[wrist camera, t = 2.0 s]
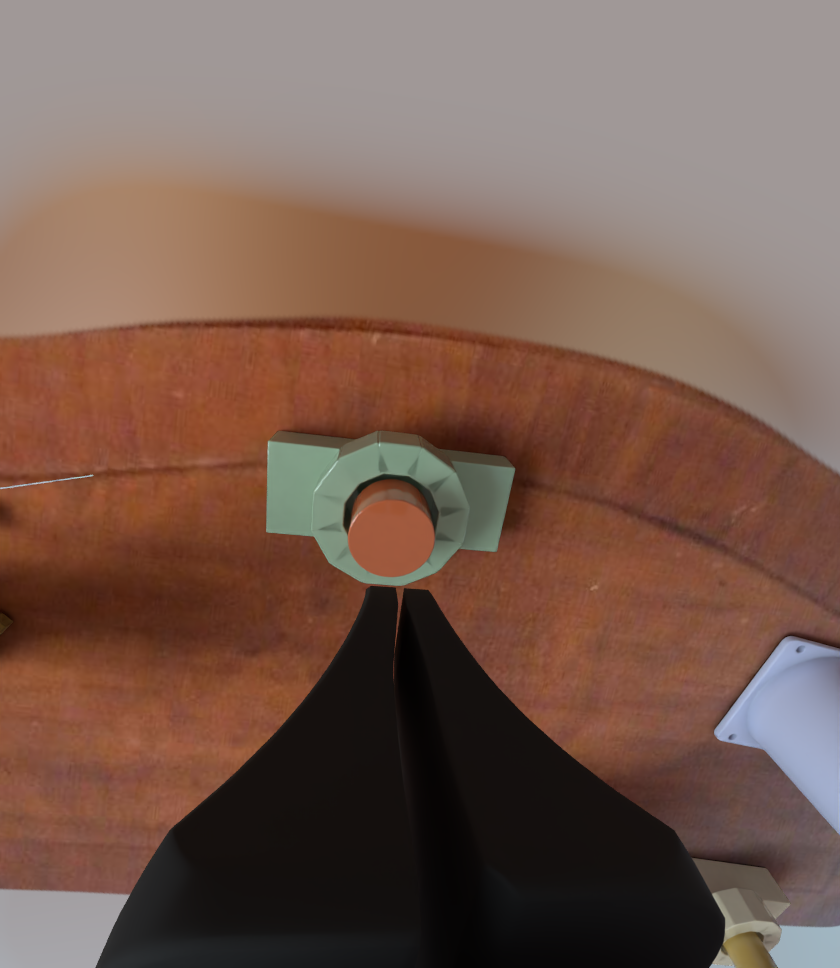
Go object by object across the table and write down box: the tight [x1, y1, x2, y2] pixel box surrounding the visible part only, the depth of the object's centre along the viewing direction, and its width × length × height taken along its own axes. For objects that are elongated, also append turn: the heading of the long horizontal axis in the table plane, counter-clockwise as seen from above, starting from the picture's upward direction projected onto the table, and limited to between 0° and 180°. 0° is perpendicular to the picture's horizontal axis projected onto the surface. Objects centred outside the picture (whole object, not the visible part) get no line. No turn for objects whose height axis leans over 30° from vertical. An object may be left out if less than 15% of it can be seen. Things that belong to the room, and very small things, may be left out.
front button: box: [348, 479, 435, 577], centre depth 16 cm, size 3×3×2 cm
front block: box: [266, 430, 515, 586], centre depth 18 cm, size 10×6×4 cm, turn 82°
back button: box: [723, 931, 778, 968], centre depth 28 cm, size 2×2×2 cm
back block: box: [692, 858, 791, 966], centre depth 31 cm, size 10×5×4 cm, turn 71°
